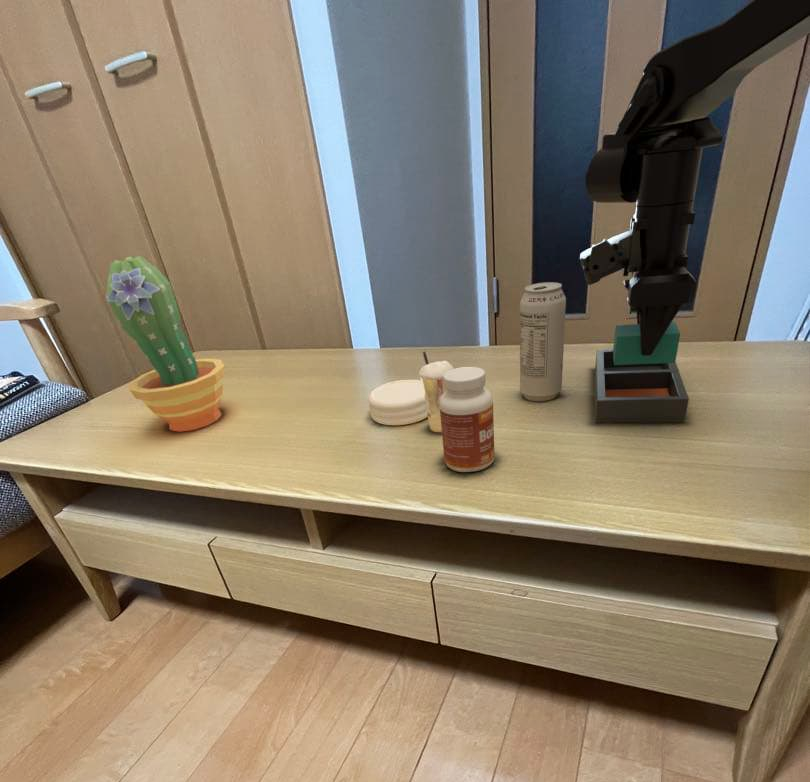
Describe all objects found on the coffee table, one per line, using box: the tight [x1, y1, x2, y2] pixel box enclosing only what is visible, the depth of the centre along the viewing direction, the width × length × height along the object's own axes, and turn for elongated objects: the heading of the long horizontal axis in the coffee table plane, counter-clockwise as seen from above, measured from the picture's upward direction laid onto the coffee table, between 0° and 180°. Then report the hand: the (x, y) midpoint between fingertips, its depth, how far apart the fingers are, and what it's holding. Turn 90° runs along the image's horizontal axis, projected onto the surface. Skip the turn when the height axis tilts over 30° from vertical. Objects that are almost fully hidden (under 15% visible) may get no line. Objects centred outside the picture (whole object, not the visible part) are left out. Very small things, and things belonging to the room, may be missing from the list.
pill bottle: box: [439, 366, 495, 473], centre depth 61 cm, size 6×6×11 cm
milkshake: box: [418, 351, 455, 434], centre depth 70 cm, size 5×5×10 cm
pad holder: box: [594, 349, 690, 424], centre depth 73 cm, size 20×10×3 cm, turn 164°
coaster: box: [367, 379, 428, 426], centre depth 78 cm, size 10×10×4 cm
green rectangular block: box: [612, 321, 681, 365], centre depth 65 cm, size 7×5×4 cm
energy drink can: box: [519, 281, 567, 402], centre depth 73 cm, size 6×6×15 cm
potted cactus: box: [105, 254, 226, 432], centre depth 81 cm, size 15×15×25 cm
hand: (644, 348), depth 65 cm, fingers closed on green rectangular block, 5 cm apart
